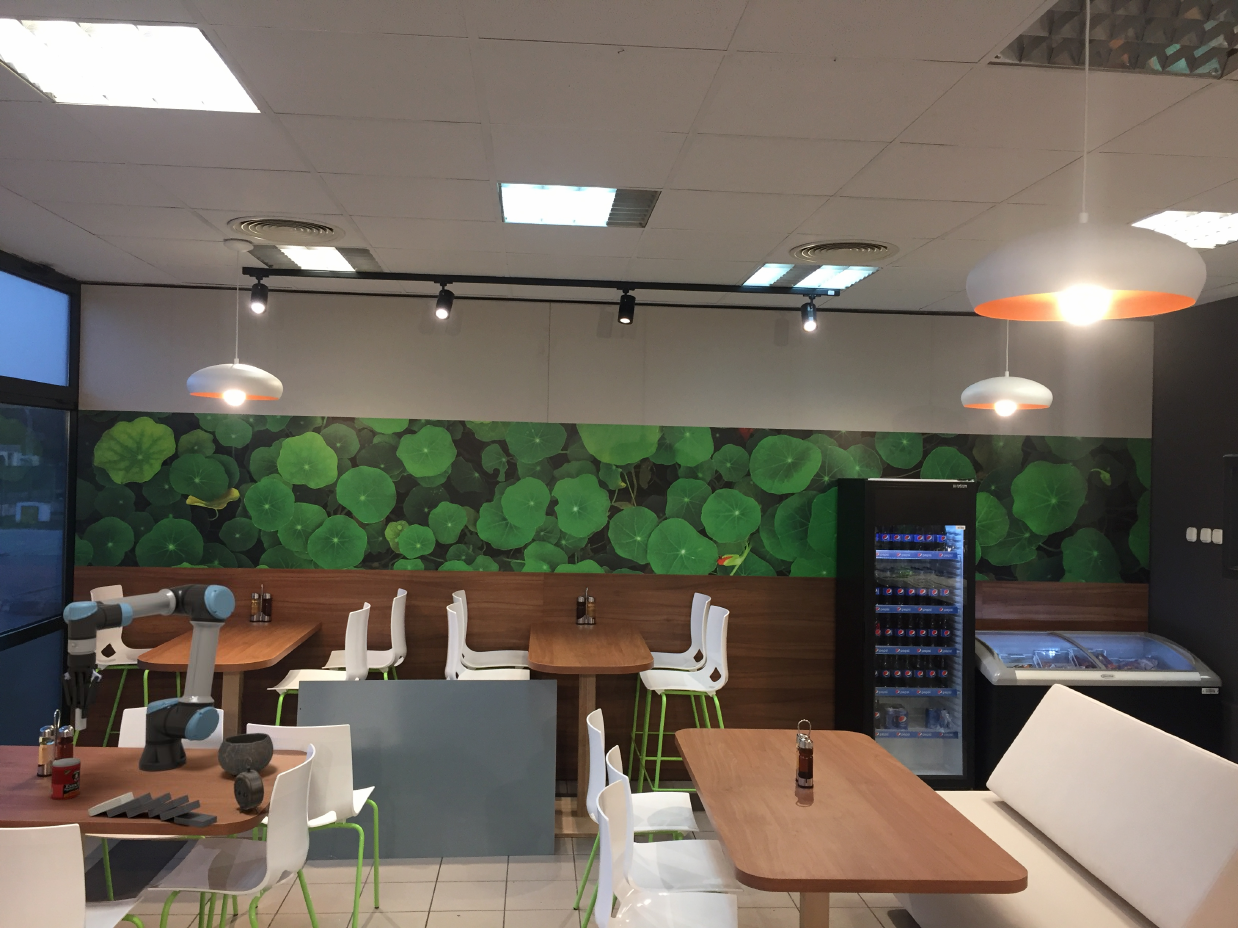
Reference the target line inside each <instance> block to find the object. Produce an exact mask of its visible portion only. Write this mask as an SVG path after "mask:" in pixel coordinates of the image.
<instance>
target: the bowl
mask: <svg viewBox="0 0 1238 928" xmlns="http://www.w3.org/2000/svg"><path fill="white" fill-rule="evenodd" d="M274 750H275V749H274V743H273V741H272V737H271V736H270V735H269V734H268V733H265V732H264V733H263V732H252V733H242V734H236V735H230V736H227V737H226V738H224V739H223V740H222V742H221V743H220V745H219V749H218V753H217V760H218V763H219V765H220V766H219V767H220V768H222V770H223V771H224V772H226V773H227V774H230V775H232V776H235V777H237V776H238V775H239V774H240V773H243V772H246V771H247V767H251V761H250V759H247V758H251V760H252V767H251V768H250V770H255V771H257V772H258V773H259V772H262V771H263V770H264V769H265V768H266V767H267V766H268V765H269V764H270V763H271V761H272V758H273V756H274ZM246 759H247V762H246ZM246 763H247V767H246Z"/></svg>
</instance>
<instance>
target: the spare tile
mask: <svg viewBox="0 0 1238 928" xmlns="http://www.w3.org/2000/svg"><path fill="white" fill-rule="evenodd" d="M134 798H135V797H134V795H133V791H129V792H126V793H124V794H121V795H119V796H116V797H115V798H111V799H108V800H106V801H104V802H102V803H101V802H100V803H99V804H97V805H95V806H93V807H91V808H89V809H87V811H88V814H89V817H93V816H96V815H98V814H100V813H103V812H107V810H109V809H111V808H114V807H117V806H119V805H122V804H124V803H126V802H128V801H130V800H132V799H134Z"/></svg>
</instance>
